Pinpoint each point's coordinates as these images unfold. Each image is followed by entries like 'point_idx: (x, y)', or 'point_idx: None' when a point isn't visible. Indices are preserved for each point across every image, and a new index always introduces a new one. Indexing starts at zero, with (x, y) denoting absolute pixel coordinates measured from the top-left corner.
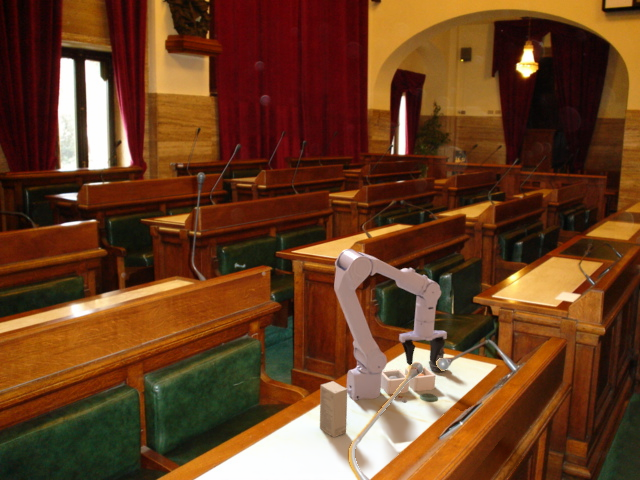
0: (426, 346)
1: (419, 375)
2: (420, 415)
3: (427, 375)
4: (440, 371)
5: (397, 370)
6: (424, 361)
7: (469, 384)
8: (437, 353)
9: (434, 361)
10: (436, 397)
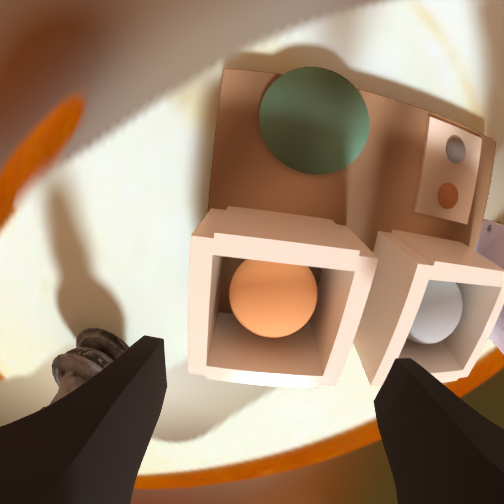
0: None
1: (291, 301)
2: (417, 46)
3: (258, 257)
4: (93, 349)
5: None
6: None
7: (23, 232)
8: (86, 396)
9: (147, 343)
10: (268, 104)
